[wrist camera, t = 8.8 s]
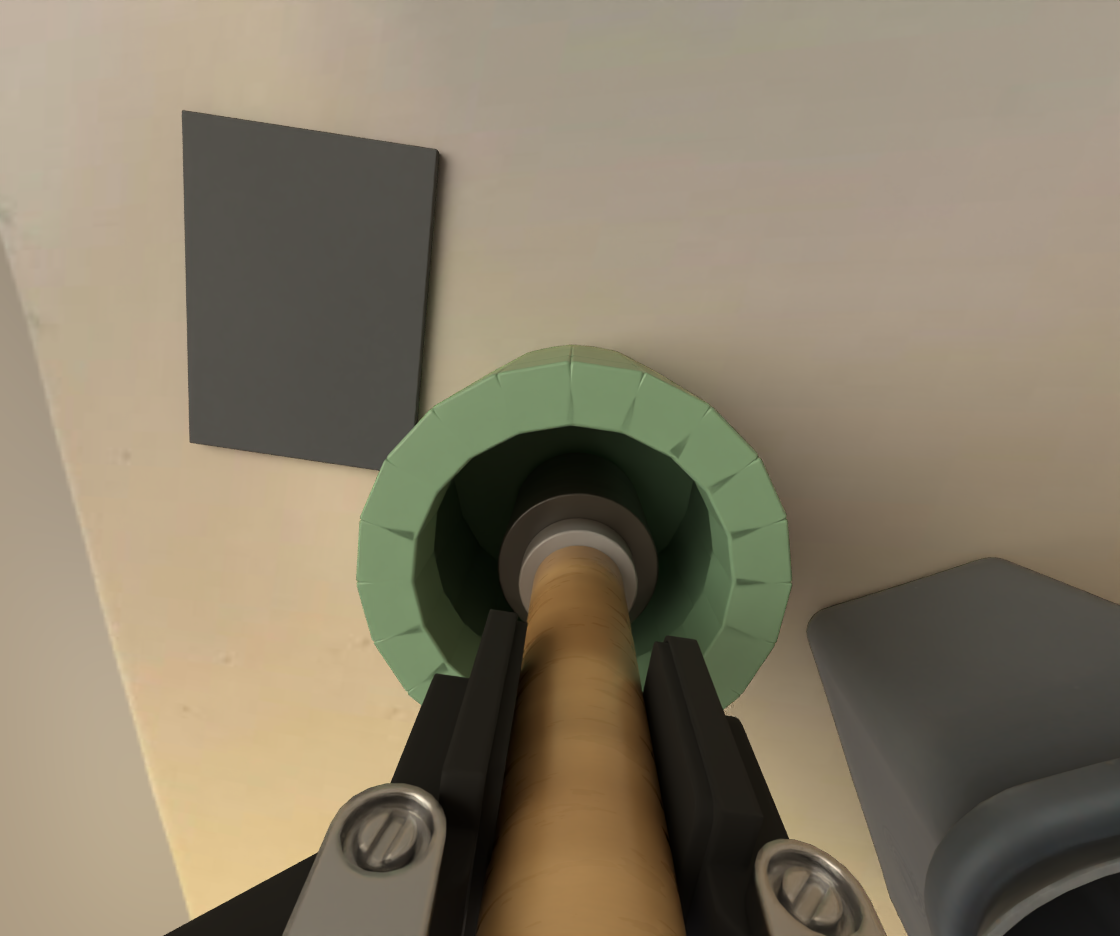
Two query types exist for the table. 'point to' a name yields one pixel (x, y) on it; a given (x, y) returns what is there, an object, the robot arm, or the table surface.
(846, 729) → the storage bin
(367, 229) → the mat
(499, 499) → the jar
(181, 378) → the table surface
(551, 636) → the brush
